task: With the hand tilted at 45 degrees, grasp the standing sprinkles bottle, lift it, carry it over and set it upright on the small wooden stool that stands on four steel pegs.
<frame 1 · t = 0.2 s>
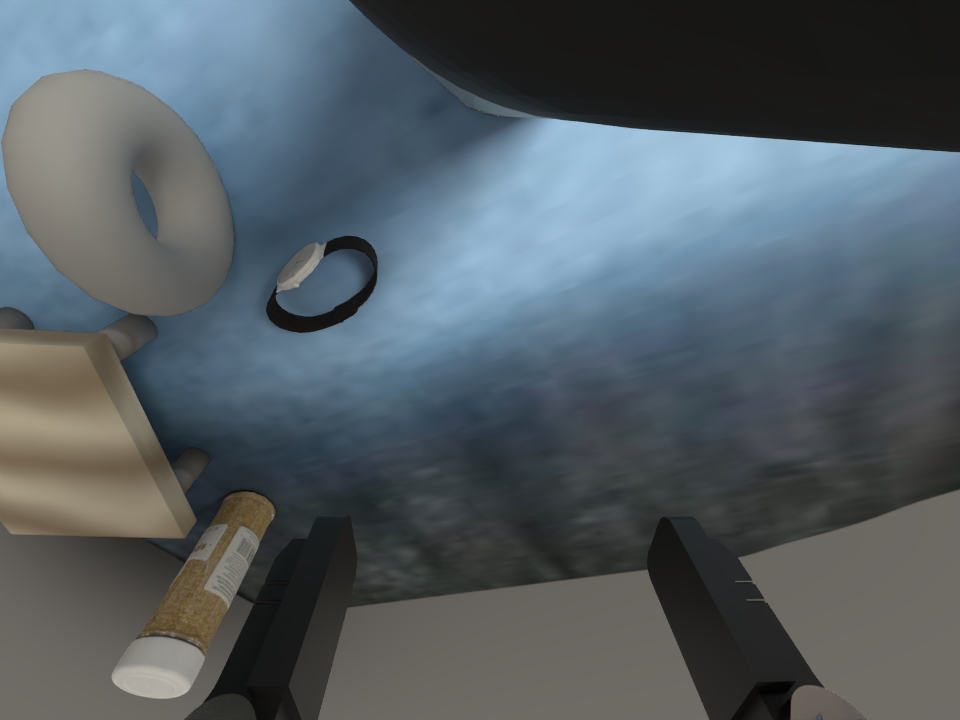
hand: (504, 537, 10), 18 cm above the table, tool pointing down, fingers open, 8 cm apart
donut: (211, 187, 22), on the table
small wooden stool: (116, 396, 30), on the table
sprinkles bottle: (252, 504, 36), on the table
watch: (332, 277, 25), on the table
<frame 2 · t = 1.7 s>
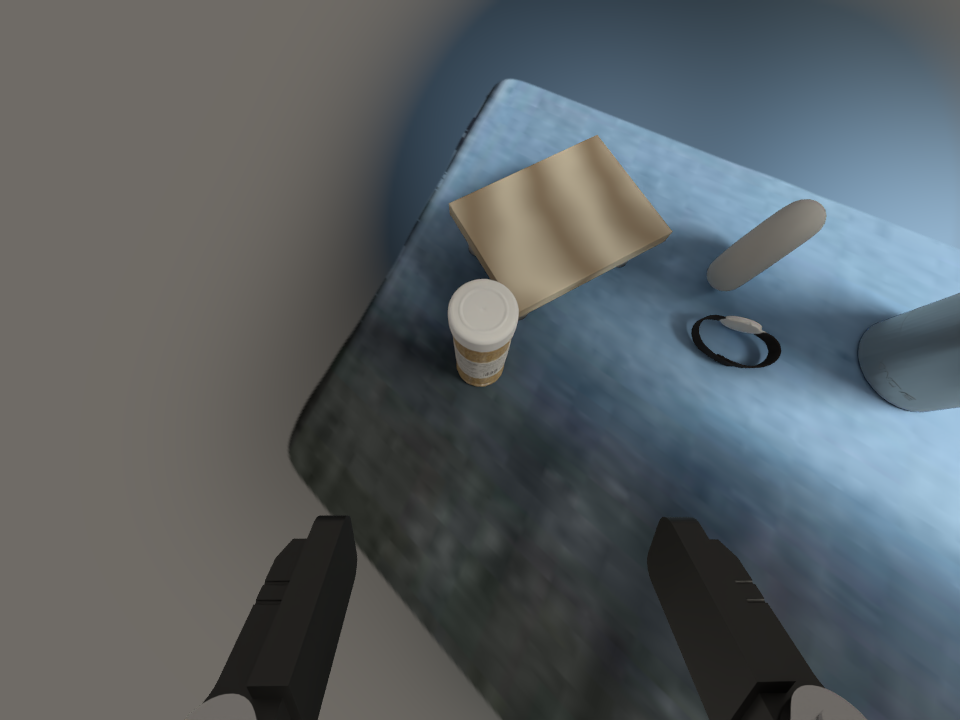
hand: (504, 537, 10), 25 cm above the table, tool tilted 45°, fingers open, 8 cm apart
donut: (726, 275, 41), on the table
small wooden stool: (547, 253, 41), on the table
sprinkles bottle: (479, 365, 38), on the table
watch: (724, 346, 39), on the table
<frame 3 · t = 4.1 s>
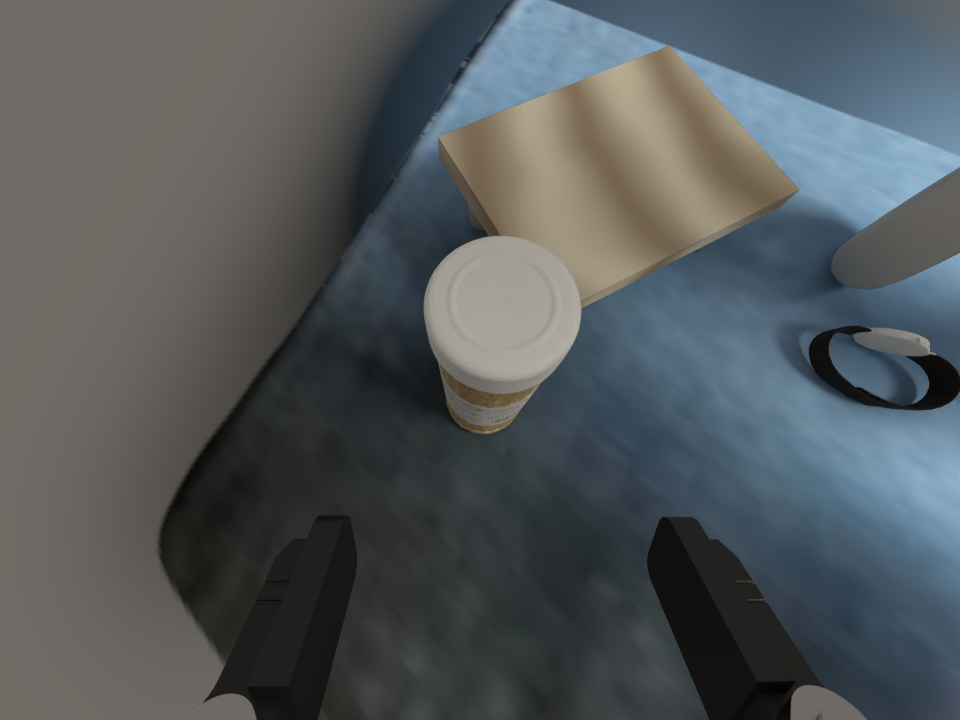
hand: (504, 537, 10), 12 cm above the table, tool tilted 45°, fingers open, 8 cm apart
donut: (850, 268, 28), on the table
small wooden stool: (586, 229, 28), on the table
sprinkles bottle: (482, 398, 24), on the table
watch: (856, 374, 26), on the table
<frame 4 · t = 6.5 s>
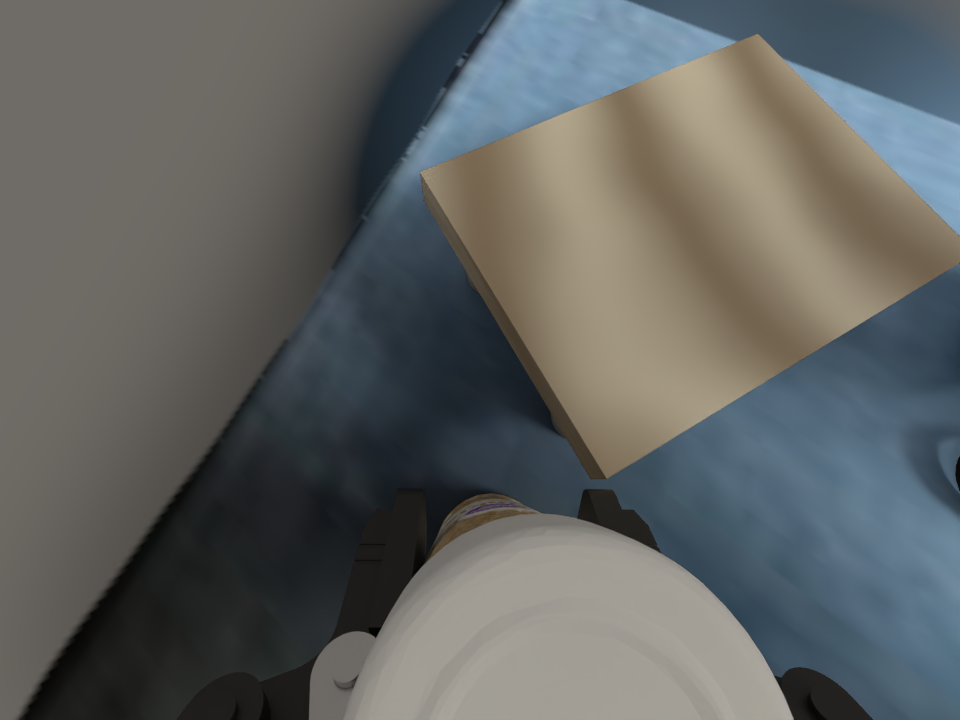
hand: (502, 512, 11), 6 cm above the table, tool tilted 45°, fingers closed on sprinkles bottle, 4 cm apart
small wooden stool: (630, 289, 20), on the table
sprinkles bottle: (489, 551, 16), on the table, touching gripper
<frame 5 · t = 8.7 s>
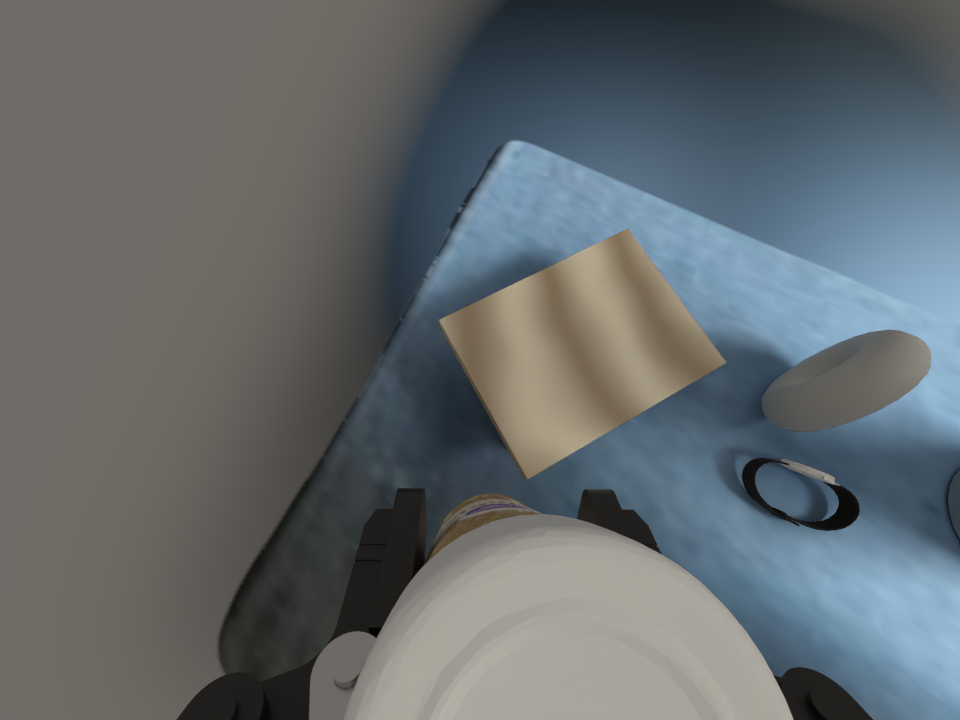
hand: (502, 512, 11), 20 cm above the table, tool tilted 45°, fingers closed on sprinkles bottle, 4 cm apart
donut: (781, 396, 34), on the table
small wooden stool: (562, 365, 33), on the table
sprinkles bottle: (488, 551, 16), point 14 cm above the table, touching gripper
watch: (781, 492, 31), on the table
when the fingers open (13 cm above the table, at t = 11.2 s): sprinkles bottle drops 1 cm, resting on small wooden stool.
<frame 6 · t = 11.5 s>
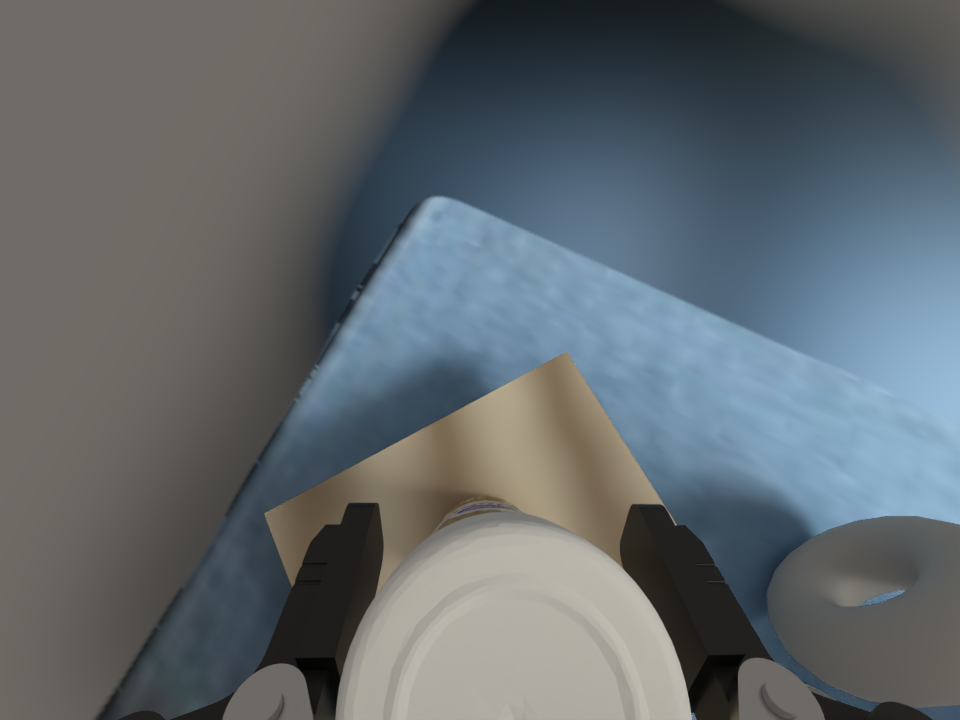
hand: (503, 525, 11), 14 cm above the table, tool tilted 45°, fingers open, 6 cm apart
donut: (794, 573, 24), on the table
small wooden stool: (481, 531, 23), on the table
sprinkles bottle: (483, 549, 18), point 6 cm above the table, touching small wooden stool
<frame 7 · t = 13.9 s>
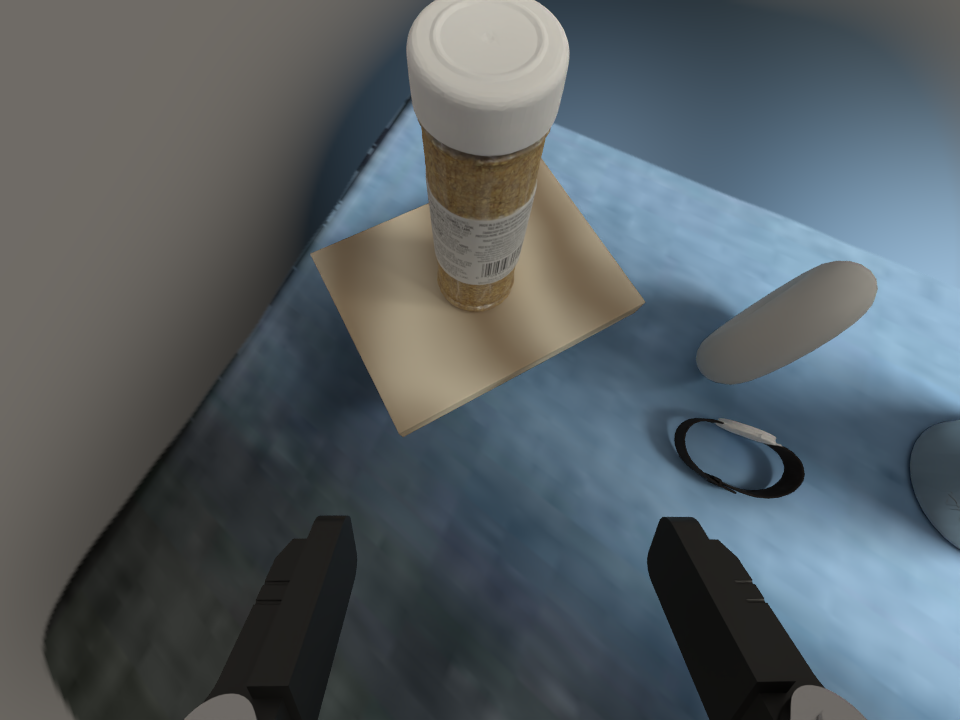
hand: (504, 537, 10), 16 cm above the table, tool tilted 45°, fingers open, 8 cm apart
donut: (723, 352, 30), on the table
small wooden stool: (474, 318, 29), on the table
sprinkles bottle: (474, 281, 24), point 6 cm above the table, touching small wooden stool
watch: (720, 457, 28), on the table
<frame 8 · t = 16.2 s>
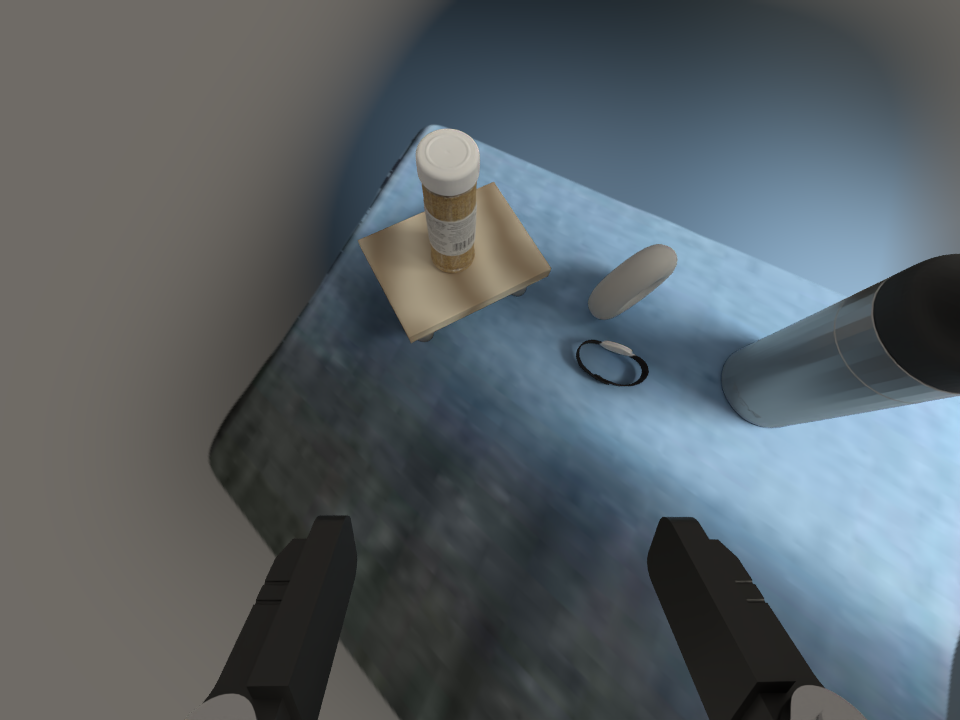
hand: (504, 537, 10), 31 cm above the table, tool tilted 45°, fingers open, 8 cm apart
donut: (613, 304, 47), on the table
small wooden stool: (455, 282, 47), on the table
sprinkles bottle: (452, 256, 41), point 6 cm above the table, touching small wooden stool
watch: (605, 367, 45), on the table
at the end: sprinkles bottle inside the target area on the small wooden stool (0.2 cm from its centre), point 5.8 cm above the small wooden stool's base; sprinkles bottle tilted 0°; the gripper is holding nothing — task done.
